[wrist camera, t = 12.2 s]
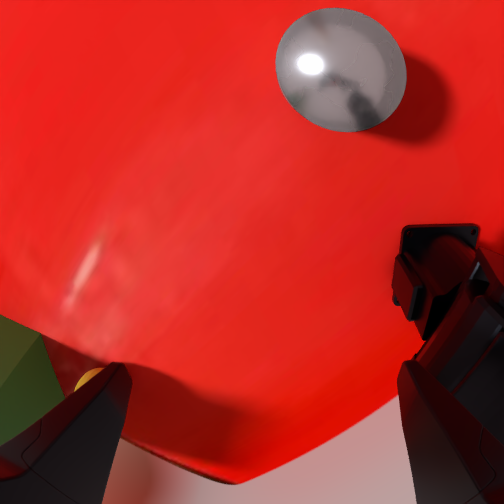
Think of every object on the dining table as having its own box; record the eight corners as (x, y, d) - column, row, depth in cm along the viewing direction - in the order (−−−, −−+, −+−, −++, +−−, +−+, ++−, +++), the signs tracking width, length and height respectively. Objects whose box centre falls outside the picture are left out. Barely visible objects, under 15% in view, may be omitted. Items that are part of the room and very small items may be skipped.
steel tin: (372, 31, 14) (399, 13, 10) (378, 123, 17) (408, 133, 13) (272, 31, 15) (269, 9, 11) (281, 124, 18) (281, 133, 13)
